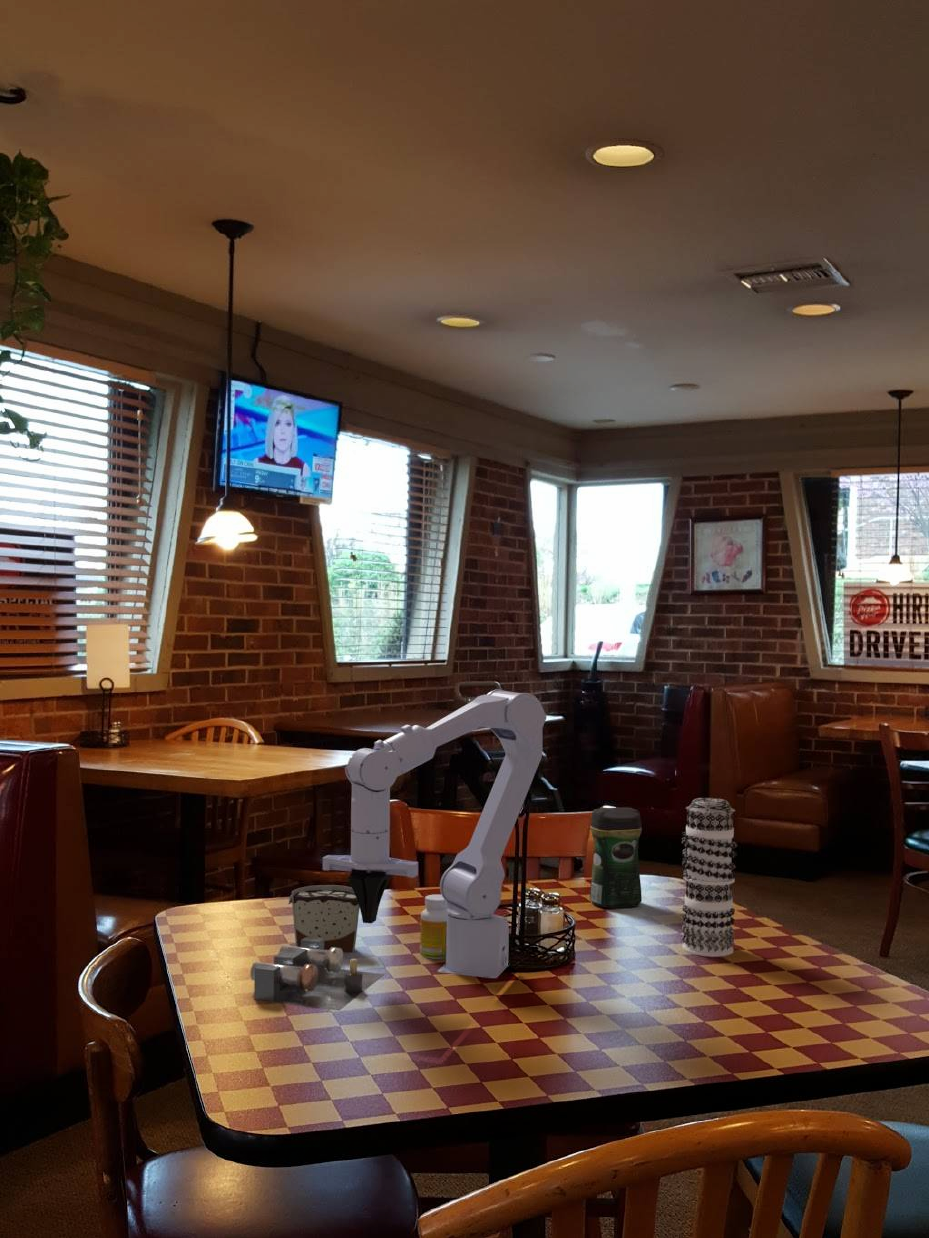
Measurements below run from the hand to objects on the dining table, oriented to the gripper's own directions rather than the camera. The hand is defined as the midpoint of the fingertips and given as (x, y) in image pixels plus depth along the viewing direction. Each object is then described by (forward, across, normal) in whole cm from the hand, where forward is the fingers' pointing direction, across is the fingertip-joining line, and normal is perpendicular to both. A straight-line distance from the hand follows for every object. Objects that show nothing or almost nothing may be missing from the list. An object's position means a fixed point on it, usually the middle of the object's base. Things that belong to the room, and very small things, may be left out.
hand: (369, 921), depth 173 cm
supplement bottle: (+10, +5, +17) cm, 20 cm away
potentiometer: (+9, -1, -5) cm, 10 cm away
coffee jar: (+10, +26, +62) cm, 68 cm away
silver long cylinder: (+8, -9, 0) cm, 12 cm away
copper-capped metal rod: (+8, -9, -9) cm, 15 cm away
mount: (+9, -6, -5) cm, 12 cm away
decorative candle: (+10, +46, +37) cm, 60 cm away
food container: (+10, -13, +15) cm, 22 cm away
